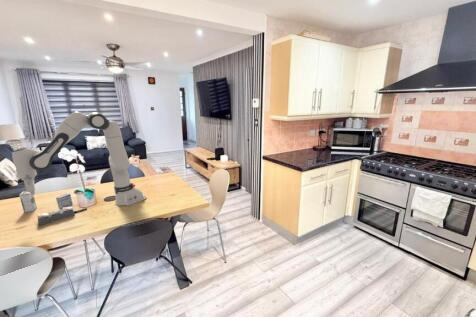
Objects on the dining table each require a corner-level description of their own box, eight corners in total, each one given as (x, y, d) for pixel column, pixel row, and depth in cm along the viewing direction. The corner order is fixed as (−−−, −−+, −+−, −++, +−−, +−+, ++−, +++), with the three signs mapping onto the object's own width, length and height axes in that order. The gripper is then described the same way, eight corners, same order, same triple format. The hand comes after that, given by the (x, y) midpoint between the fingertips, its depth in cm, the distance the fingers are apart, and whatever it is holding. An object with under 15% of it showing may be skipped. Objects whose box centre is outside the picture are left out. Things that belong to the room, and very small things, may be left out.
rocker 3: (71, 208, 159) (71, 206, 159) (72, 210, 157) (72, 208, 157) (62, 209, 156) (62, 207, 156) (63, 211, 153) (63, 209, 153)
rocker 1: (48, 215, 151) (48, 212, 151) (48, 217, 148) (48, 214, 148) (37, 216, 147) (38, 213, 147) (38, 218, 145) (38, 215, 145)
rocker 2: (60, 210, 155) (59, 208, 154) (61, 212, 152) (59, 210, 152) (51, 214, 152) (50, 212, 151) (52, 216, 150) (50, 214, 149)
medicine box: (62, 208, 167) (59, 198, 165) (58, 208, 169) (55, 197, 166) (72, 204, 174) (70, 194, 172) (69, 203, 176) (66, 193, 173)
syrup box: (27, 209, 167) (22, 191, 163) (37, 207, 169) (32, 190, 165) (23, 212, 162) (18, 194, 158) (34, 211, 164) (29, 192, 160)
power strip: (85, 207, 168) (84, 202, 167) (87, 211, 163) (86, 206, 162) (38, 220, 151) (37, 215, 150) (39, 225, 145) (37, 219, 144)
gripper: (34, 176, 133) (40, 197, 137) (33, 168, 148) (39, 188, 151) (19, 179, 129) (26, 201, 133) (20, 171, 144) (26, 190, 147)
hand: (33, 194), depth 142 cm, fingers closed
